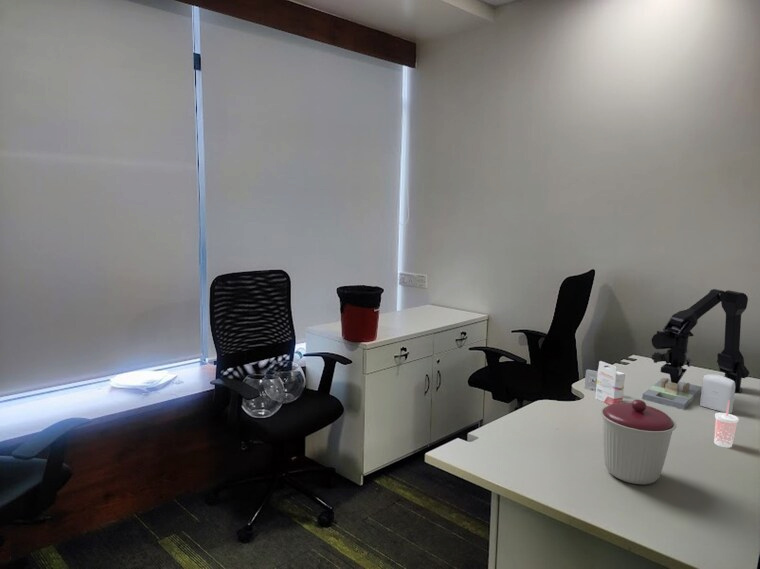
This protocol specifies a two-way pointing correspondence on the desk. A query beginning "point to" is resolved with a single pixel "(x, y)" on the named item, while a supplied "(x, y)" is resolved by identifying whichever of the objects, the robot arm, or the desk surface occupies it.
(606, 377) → the ink cartridge box
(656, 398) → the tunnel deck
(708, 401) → the photo printer
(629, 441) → the canister
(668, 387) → the birch block
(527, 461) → the desk surface
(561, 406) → the desk surface
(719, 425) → the beverage cup
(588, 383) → the cassette
